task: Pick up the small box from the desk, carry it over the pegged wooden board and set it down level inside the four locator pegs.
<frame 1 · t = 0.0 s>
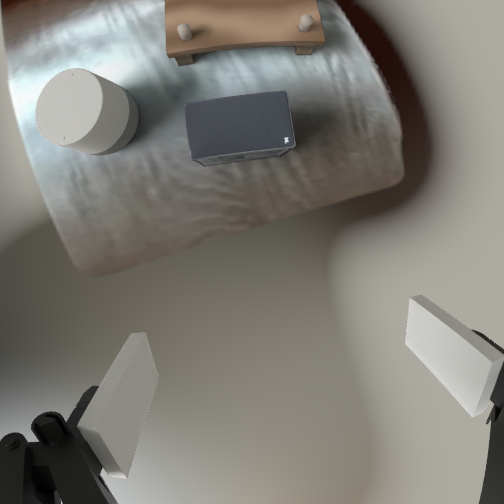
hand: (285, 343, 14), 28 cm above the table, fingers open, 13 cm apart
small box: (239, 137, 38), on the table
smart speaker: (113, 123, 37), on the table
pegged wooden board: (240, 20, 34), on the table
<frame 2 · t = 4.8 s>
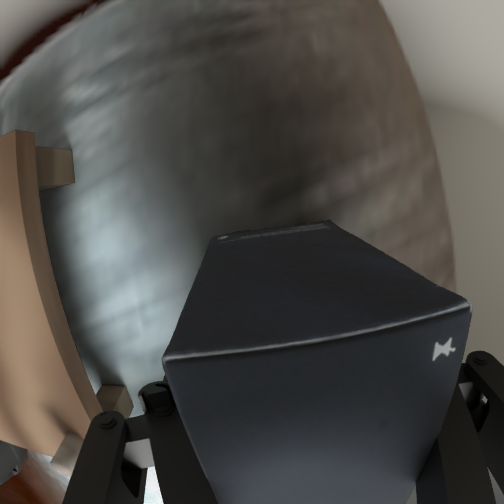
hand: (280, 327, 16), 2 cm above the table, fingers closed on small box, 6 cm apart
small box: (279, 323, 16), point 2 cm above the table, touching gripper
pegged wooden board: (25, 299, 17), on the table
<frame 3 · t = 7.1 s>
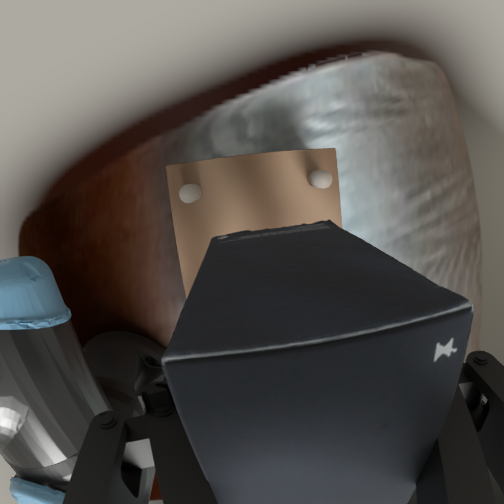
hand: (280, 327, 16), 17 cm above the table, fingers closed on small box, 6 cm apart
small box: (279, 323, 16), point 16 cm above the table, touching gripper
pegged wooden board: (259, 251, 32), on the table
when the fingers open (7 cm above the table, at t = 9.6 s): small box drops 1 cm, resting on pegged wooden board.
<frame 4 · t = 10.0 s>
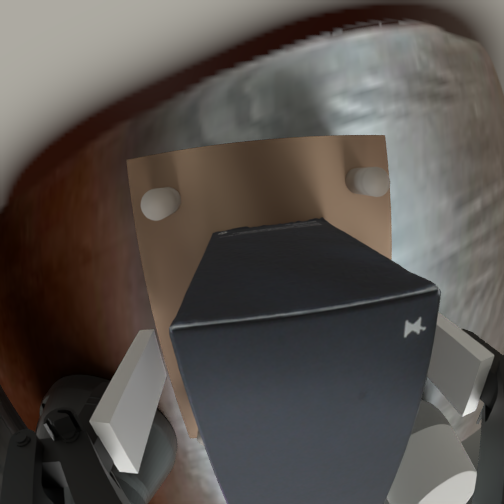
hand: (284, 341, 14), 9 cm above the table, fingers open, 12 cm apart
small box: (275, 314, 17), point 6 cm above the table, touching pegged wooden board
smart speaker: (395, 421, 28), on the table
pegged wooden board: (266, 281, 23), on the table
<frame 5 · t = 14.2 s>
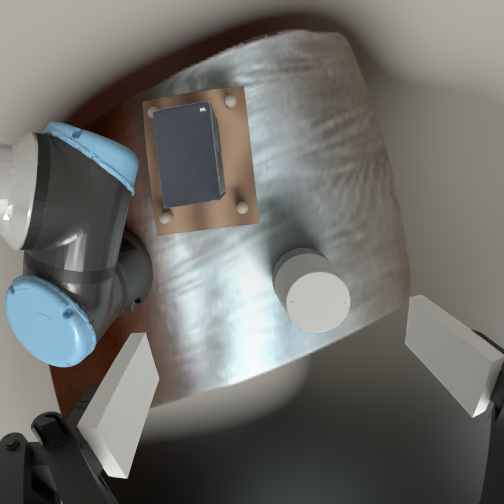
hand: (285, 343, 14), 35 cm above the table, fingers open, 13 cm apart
small box: (198, 159, 39), point 6 cm above the table, touching pegged wooden board
smart speaker: (298, 271, 50), on the table
pegged wooden board: (203, 161, 45), on the table
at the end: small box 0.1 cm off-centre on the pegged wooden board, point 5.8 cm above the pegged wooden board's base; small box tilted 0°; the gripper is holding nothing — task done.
